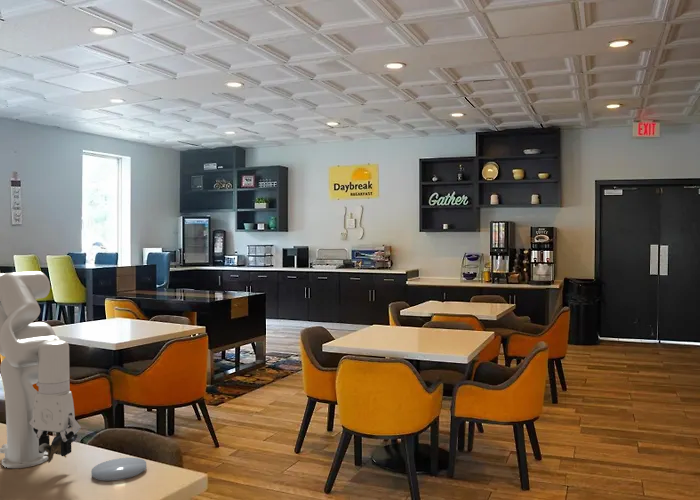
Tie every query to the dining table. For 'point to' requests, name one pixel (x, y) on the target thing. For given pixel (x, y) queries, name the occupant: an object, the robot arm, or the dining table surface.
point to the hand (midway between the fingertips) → (55, 452)
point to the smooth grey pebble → (118, 469)
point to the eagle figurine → (54, 446)
